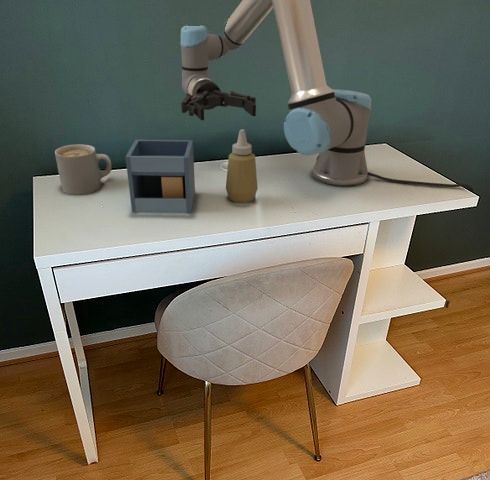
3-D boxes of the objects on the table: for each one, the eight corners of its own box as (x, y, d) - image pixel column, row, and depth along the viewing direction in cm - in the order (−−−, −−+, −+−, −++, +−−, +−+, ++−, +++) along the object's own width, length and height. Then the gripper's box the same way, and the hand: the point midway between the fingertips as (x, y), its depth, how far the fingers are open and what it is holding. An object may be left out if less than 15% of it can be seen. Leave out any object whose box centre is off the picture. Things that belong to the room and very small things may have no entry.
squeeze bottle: (254, 209, 124) (255, 136, 114) (222, 206, 125) (221, 133, 115) (259, 196, 130) (262, 126, 120) (229, 193, 132) (229, 124, 122)
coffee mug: (59, 195, 129) (52, 157, 123) (64, 181, 137) (57, 145, 131) (113, 192, 131) (108, 155, 125) (114, 178, 139) (109, 143, 134)
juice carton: (185, 198, 126) (184, 169, 122) (184, 206, 122) (182, 177, 118) (166, 198, 126) (163, 169, 122) (163, 206, 122) (161, 177, 118)
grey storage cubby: (195, 195, 130) (192, 140, 122) (191, 216, 120) (188, 157, 112) (141, 195, 130) (135, 139, 122) (132, 216, 120) (125, 156, 111)
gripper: (245, 103, 147) (274, 124, 130) (161, 109, 139) (180, 132, 123) (246, 76, 143) (275, 93, 126) (159, 81, 135) (179, 100, 119)
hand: (228, 112), depth 124 cm, fingers open, 13 cm apart
